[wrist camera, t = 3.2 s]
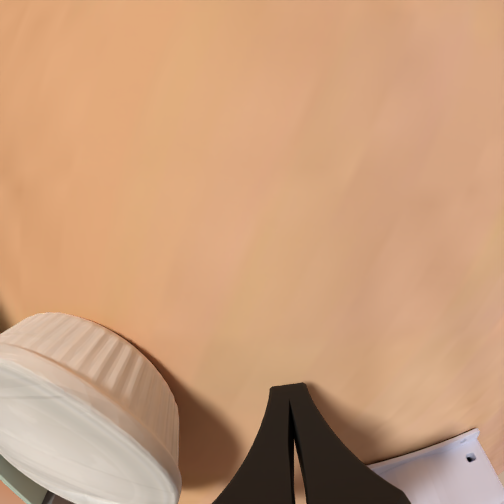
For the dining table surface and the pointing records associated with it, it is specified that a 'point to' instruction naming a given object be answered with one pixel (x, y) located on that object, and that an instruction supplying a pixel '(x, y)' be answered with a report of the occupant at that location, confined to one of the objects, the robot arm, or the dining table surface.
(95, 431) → the ramekin
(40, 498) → the door
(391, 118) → the dining table surface
